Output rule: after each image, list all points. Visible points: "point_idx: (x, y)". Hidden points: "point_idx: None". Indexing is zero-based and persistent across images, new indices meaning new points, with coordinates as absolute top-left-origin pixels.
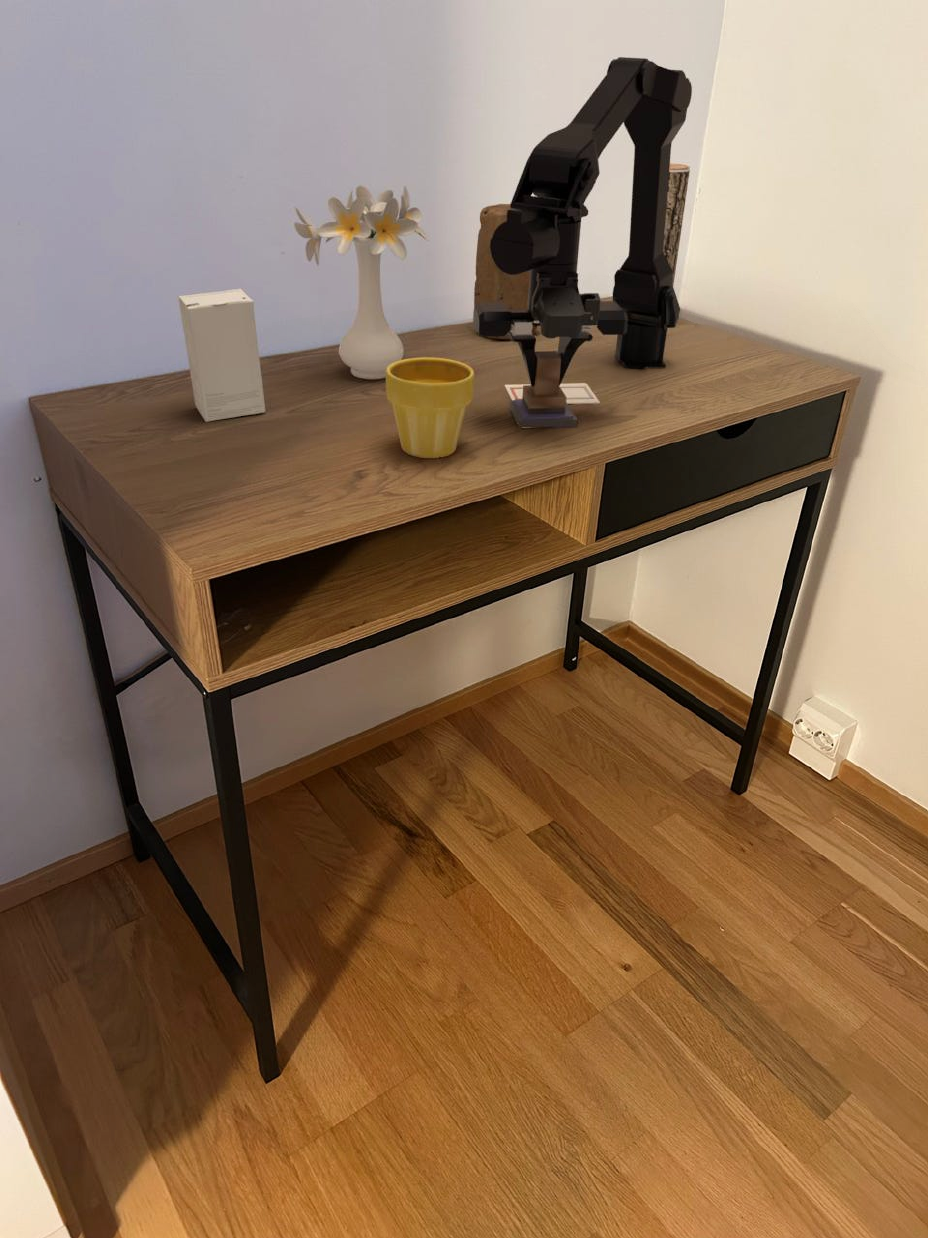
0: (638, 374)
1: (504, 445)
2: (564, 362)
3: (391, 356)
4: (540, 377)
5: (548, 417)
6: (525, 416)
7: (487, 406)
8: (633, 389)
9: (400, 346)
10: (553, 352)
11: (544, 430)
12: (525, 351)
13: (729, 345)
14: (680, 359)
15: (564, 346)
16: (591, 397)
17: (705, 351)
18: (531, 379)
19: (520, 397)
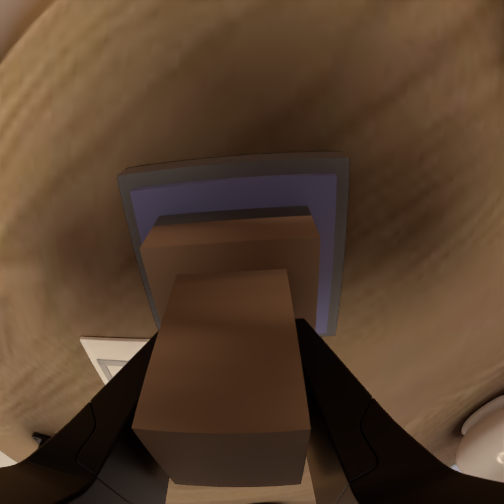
0: (57, 427)
1: (410, 12)
2: (119, 406)
3: (498, 429)
4: (272, 330)
5: (228, 180)
6: (325, 182)
7: (386, 323)
8: (42, 387)
9: (477, 454)
10: (189, 478)
11: (248, 130)
12: (419, 458)
13: (6, 449)
14: (29, 443)
15: (108, 498)
16: (102, 363)
17: (17, 448)
18: (313, 336)
19: None
